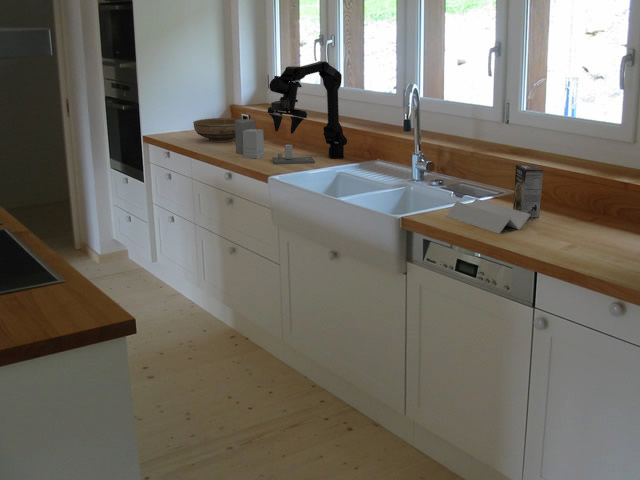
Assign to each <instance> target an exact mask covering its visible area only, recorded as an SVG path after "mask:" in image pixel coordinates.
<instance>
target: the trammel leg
mask: <svg viewBox="0 0 640 480" xmlns="http://www.w3.org/2000/svg"><path fill="white" fill-rule="evenodd" d="M284 157H285V158H286V159H292V157H293V144H284Z"/></svg>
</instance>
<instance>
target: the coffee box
mask: <svg viewBox="0 0 640 480" xmlns="http://www.w3.org/2000/svg"><path fill="white" fill-rule="evenodd" d="M514 175H515V176H514V189H513V190H514V191H513V203H512V204H513V207H512V209H514V210H518V211H521V212H525V213H528V214H530V216H529V217H536V218H540V214H541V213H540V212H541V202H542V189H543V177H544V169H542V168H541V167H539V166H537V165H535V164H525V163H524V164H523V163H522V164H520V163H519V164H515V174H514Z"/></svg>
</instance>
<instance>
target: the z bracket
mask: <svg viewBox="0 0 640 480" xmlns="http://www.w3.org/2000/svg"><path fill="white" fill-rule="evenodd" d="M529 216H530V214H528V213H525V212H521V211H518V210H514V209H513V208H509V207H507V206H505V205H504V206H503V205H500V204H497V203H492V202H490V201H486V200H482V199H479V198H475V199H474V200H473V201H472V203H471V204H467V203H463V202H459V201H456V202H455V203H454V204H453V206H452V207H451V208H450V210H449V211H448V212H447V213H446V215H445V217H449V218H451V219H454V220H456V221H459V222H460V221H461V222H463V223H466V224H469V225H472V226H475V227H478V228H481V229H484V230H488V231H490V232H493V233H496V234H501V232H502V231H503V230H504V228H505V227H508V228H512V229H515V230H521V229H522V227H523V226H524V225H525V223H526V222H527V221H528V219H529Z"/></svg>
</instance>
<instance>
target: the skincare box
mask: <svg viewBox="0 0 640 480" xmlns="http://www.w3.org/2000/svg"><path fill="white" fill-rule="evenodd" d="M256 125H257V124H256V120H254V119H251V118H248V119H247V118H246V119H244V120H237V121H235V136H236V137H235V153H236V154H238V155H239V154H240V155H244V152H243V131H245V130H248V129H257V128H256Z"/></svg>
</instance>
